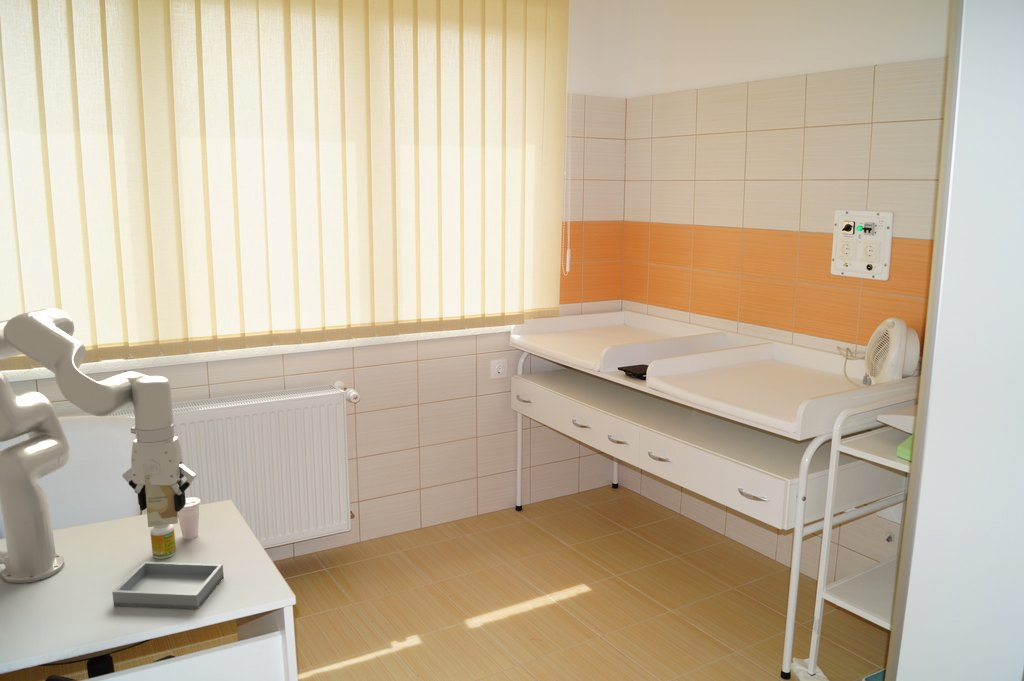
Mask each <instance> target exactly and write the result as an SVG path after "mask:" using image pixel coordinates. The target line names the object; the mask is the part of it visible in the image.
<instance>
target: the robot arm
mask: <svg viewBox="0 0 1024 681" xmlns="http://www.w3.org/2000/svg"><path fill="white" fill-rule="evenodd" d="M74 325H75V324H74V322H73V320H72V318H71V316H70V315H69V314H68V313H66V312H65V311H63V310H61V309H58V308H55V307H54V308H53V307H49V308H43V309H38V310H34V311H29V312H24V313H20V314H18V315H17V314H16V316H13V317H11V318H10V319H5V320H0V361H1V360H5V359H9V358H13V357H16V356H20V355H24V356H26V357H27V358H29V359H31V360H32V361H34V362H35V363H37V364H39V365H41V366H42V367H43V368H46V369H47V370H49V371H50V372H51V373H53V374H54V377H55V383H56V386H57V388H58V389H59V392H60V393H61V394H62V396H63V397H64V398H65V399H66V400H67V401H68V402H69V403H71V404H73V405H74V406H76V407H78V408H79V409H80V410H82V411H83V412H85V413H87V414H89V415H92V416H96V417H108V416H111V415H114V414H116V413H118V412H120V411H123V410H125V409H129V408H132V407H133V412H134V413H133V414H134V415H133V416H134V423H135V424H134V425H135V426H133V427H131V428H130V433H131V434H134V435H135V438H136V439H133V441H132V447H131V457H130V458H131V459H130V462H131V463H130V465H131V466H130V468H129V469H127V470H126V471H125V472H124V473H123V474H122V477H123V479H124V480H125V481H126V482H127V483H128V486H130V487H131V488H132V489H133V491H134V493H135V494H137V501H138V505H139V510H140V511H145V510H147V505H146V490H145V475H147V476H150V483H151V485H155V486H172V488H173V489H174V491H175V492H176V494H175V495H174V505H175V511H176V512H179V511H180V510H181V509H182V508H183V507H184V506H185V504H186V501H185V491H186V490H187V489H188V488H189V487H190V486H191V485H192V484H193V482H194V481H195V479H196V478H197V474H196V473H195V472H193V471H192V470H190V469H189V468H188V467H187V466H186V465H185V462H184V456H183V451H182V447H181V444H180V441H179V438H178V436H175V427H174V426H175V424H174V412H173V402H172V392H171V384H170V383H171V382H170V381H169V379H168V378H167V377H165V376H161V375H147V374H145V373H144V374H143V373H140V372H138V371H124V372H121V373H118V374H116V375H113V376H112V375H111V376H109V377H107V378H104V379H101V380H98V381H96V380H95V379H92V378H90V376H87V375H86V374H84V373H83V372H81V371H80V370H79V368H80V366H82V363H83V362H84V359H85V357H86V353H87V352H86V347H85V344H84V343H83V342H82V341H80V340H78V339H76V338H74V337H73V335H74V333H75V326H74ZM13 390H14V389H13V388H12V386H11V383H10V381H9V379H8V377H7V375H5V374H4V373H3V372H2V371H1V370H0V443H4V442H8V441H11V440H13V439H16V438H19V437H21V436H22V437H23V436H24V435H27V436H28V439H26V440H22V441H20V442H18V443H15V444H13V445H11V446H8V447H6V448H4V449H2V450H0V509H1V510H0V511H1V516H2V523H3V530H4V536H5V545H6V551H0V565H4V569H3V571H2V577H3V580H5V581H6V582H8V583H13V584H26V583H25V582H27V583H33V582H36V581H37V582H38V581H40V579H41V580H43V579H46V577H47V578H48V577H50V576H53V575H55V574H56V573H57V574H58V572H60V571H61V569H63V567H64V566H65V560H64V557H63V556H62V555H60V554H57V553H56V548H55V547H56V546H55V539H54V530H53V524H52V516H51V506H50V501H49V496H48V495H47V491H46V490H44V489H43V487H42V486H41V485H40V484H39V482H38V481H39V480H40V479H42V478H44V477H46V476H47V475H50V474H52V473H54V472H56V471H58V470H60V469H62V468H63V467H65V466H66V465H67V464H68V463H69V461H70V457H71V450H70V444H69V442H68V439H67V436H66V435H65V431H64V429H63V427H62V424H61V422H60V419H59V417H58V414H57V411H56V410H55V406H54V405H53V404H52V402H51V401H50V399H48V397H46V395H44V394H42V393H41V392H38V391H33V390H31V391H30V390H29V391H24V392H20V393H17V394H15V393H14V391H13ZM184 477H185V478H186V480H185V481H184V480H183V478H184Z"/></svg>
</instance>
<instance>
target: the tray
mask: <svg viewBox="0 0 1024 681" xmlns="http://www.w3.org/2000/svg"><path fill="white" fill-rule="evenodd" d="M222 579H223V580H224V565H223V563H222V564H221V563H220V564H219V563H196V562H195V563H194V562H193V563H192V562H191V563H190V562H169V561H166V562H164V561H143V562H142V563H141V564H140V565H139V566H138V567H137V568H136V569H134V571H133V572H132V573H131V574H129V576H127V577H126V579H124V580H123V581H122V582H121V583H120V584H119V585H118V586H117V587H116V588H115V589H114V590H113V591H112V594H111V595H112V602H113V607H119V608H121V607H122V608H142V609H143V608H144V609H173V610H174V609H175V610H192V609H198V610H199V609H200V608H201V607H202V605H203V604H205V602H206V601H207V599H208V598H209V597H210V596H211V594H212V593H213V592H214V591H215V589H216V588H217V587H218V586H219V584H220V583H221V582H222V581H223V580H222ZM221 580H222V581H221ZM217 585H218V586H217ZM216 586H217V587H216ZM213 590H214V591H213ZM209 595H210V596H209ZM205 600H206V601H205ZM204 601H205V602H204ZM200 606H201V607H200ZM199 607H200V608H199Z"/></svg>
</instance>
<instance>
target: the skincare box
mask: <svg viewBox="0 0 1024 681" xmlns="http://www.w3.org/2000/svg"><path fill="white" fill-rule="evenodd" d="M145 490H146V505H147V508H146V516H147V528H152V527H154V526H161V525H169V524H172V525H175V524H178V522H179V519H178V512H176V511H175V505H174V495H175V494H176V492H175V491H174V489H173V488H172V486H155V485H151V483H150V476H147V475H145Z"/></svg>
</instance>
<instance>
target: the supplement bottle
mask: <svg viewBox="0 0 1024 681" xmlns="http://www.w3.org/2000/svg"><path fill="white" fill-rule="evenodd" d="M150 541H151V551H152V557H153V558H154V559H158V560H163V559H168V558H171V557H173V556H174V555H176V552H177V548H176V535H175V526H174V524H169V525H161V526H154V527H150Z"/></svg>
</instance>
